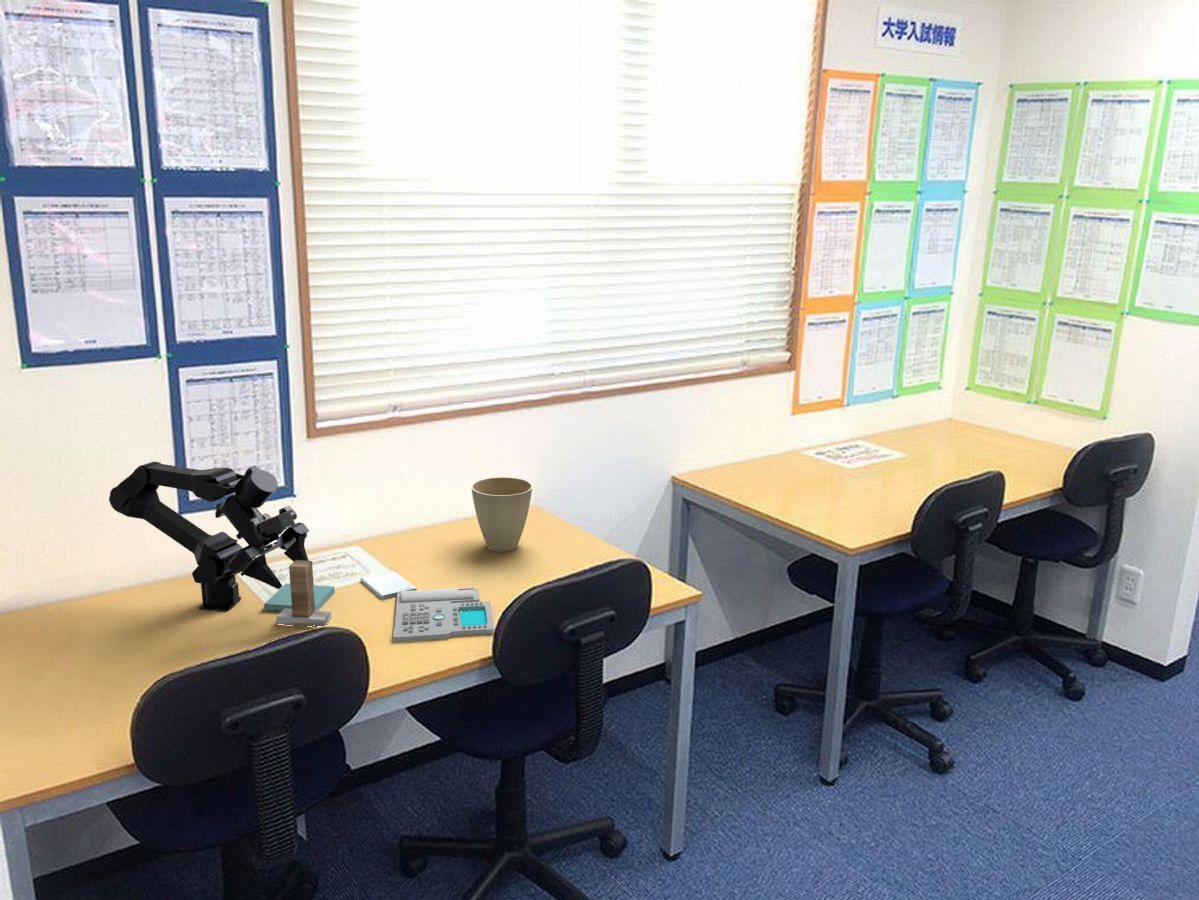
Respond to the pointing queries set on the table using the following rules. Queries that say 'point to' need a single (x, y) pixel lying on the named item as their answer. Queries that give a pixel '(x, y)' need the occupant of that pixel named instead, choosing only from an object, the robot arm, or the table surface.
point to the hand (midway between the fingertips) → (295, 579)
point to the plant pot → (501, 510)
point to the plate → (284, 601)
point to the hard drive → (387, 584)
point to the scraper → (302, 599)
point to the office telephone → (441, 614)
